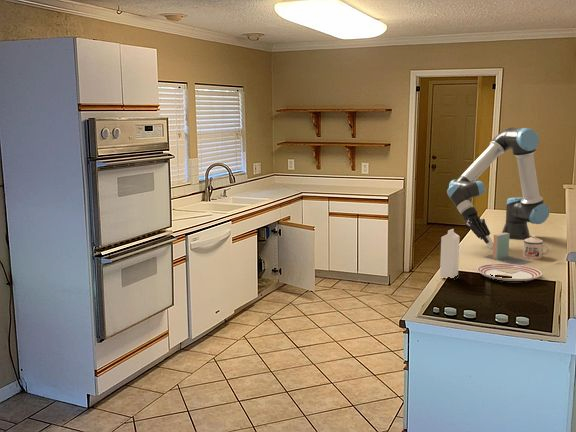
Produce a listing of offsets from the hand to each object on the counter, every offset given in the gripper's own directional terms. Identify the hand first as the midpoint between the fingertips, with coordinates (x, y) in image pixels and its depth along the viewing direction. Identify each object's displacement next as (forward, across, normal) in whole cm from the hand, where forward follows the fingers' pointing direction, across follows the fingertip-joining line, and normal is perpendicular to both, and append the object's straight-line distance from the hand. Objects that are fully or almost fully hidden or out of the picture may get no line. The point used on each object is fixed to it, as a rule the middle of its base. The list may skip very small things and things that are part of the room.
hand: (492, 247), depth 295 cm
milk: (+12, +45, +4) cm, 47 cm away
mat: (+10, 0, +2) cm, 10 cm away
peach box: (+6, 0, 0) cm, 6 cm away
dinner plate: (+22, +23, +14) cm, 35 cm away
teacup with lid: (+14, -15, +6) cm, 21 cm away
